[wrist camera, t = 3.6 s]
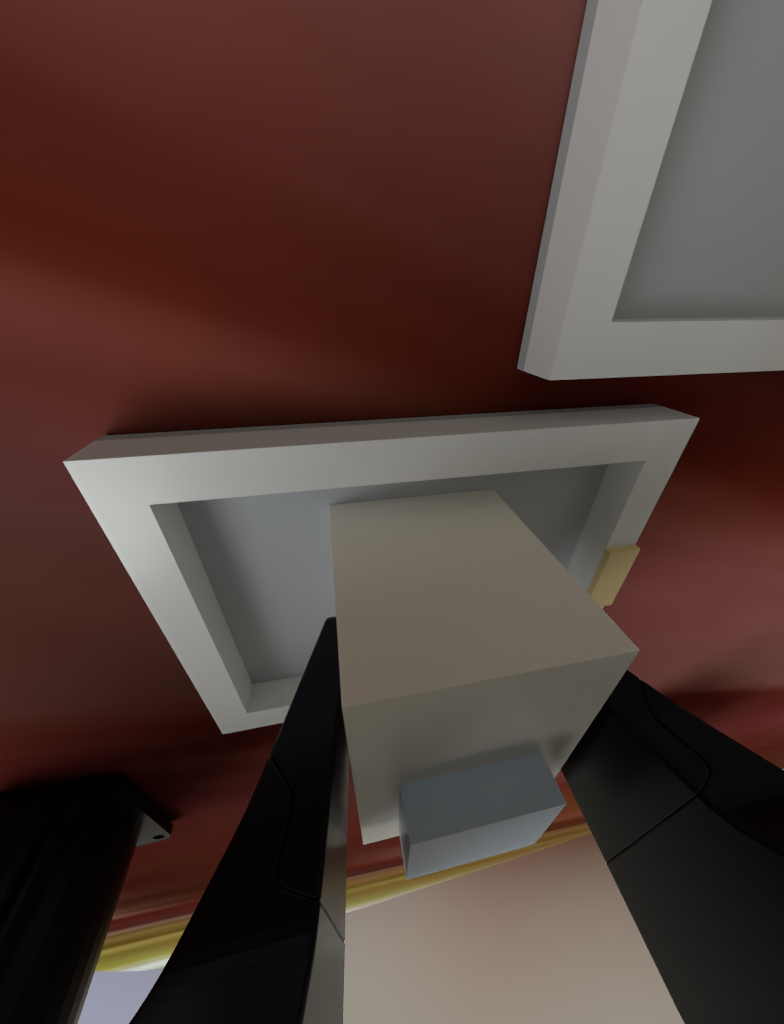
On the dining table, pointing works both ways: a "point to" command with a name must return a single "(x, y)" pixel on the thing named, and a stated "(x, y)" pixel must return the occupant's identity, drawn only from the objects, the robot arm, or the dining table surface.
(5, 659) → the dining table surface
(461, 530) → the plug
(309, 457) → the small rectangular tray
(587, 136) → the shallow white tray
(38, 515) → the dining table surface
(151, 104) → the dining table surface
